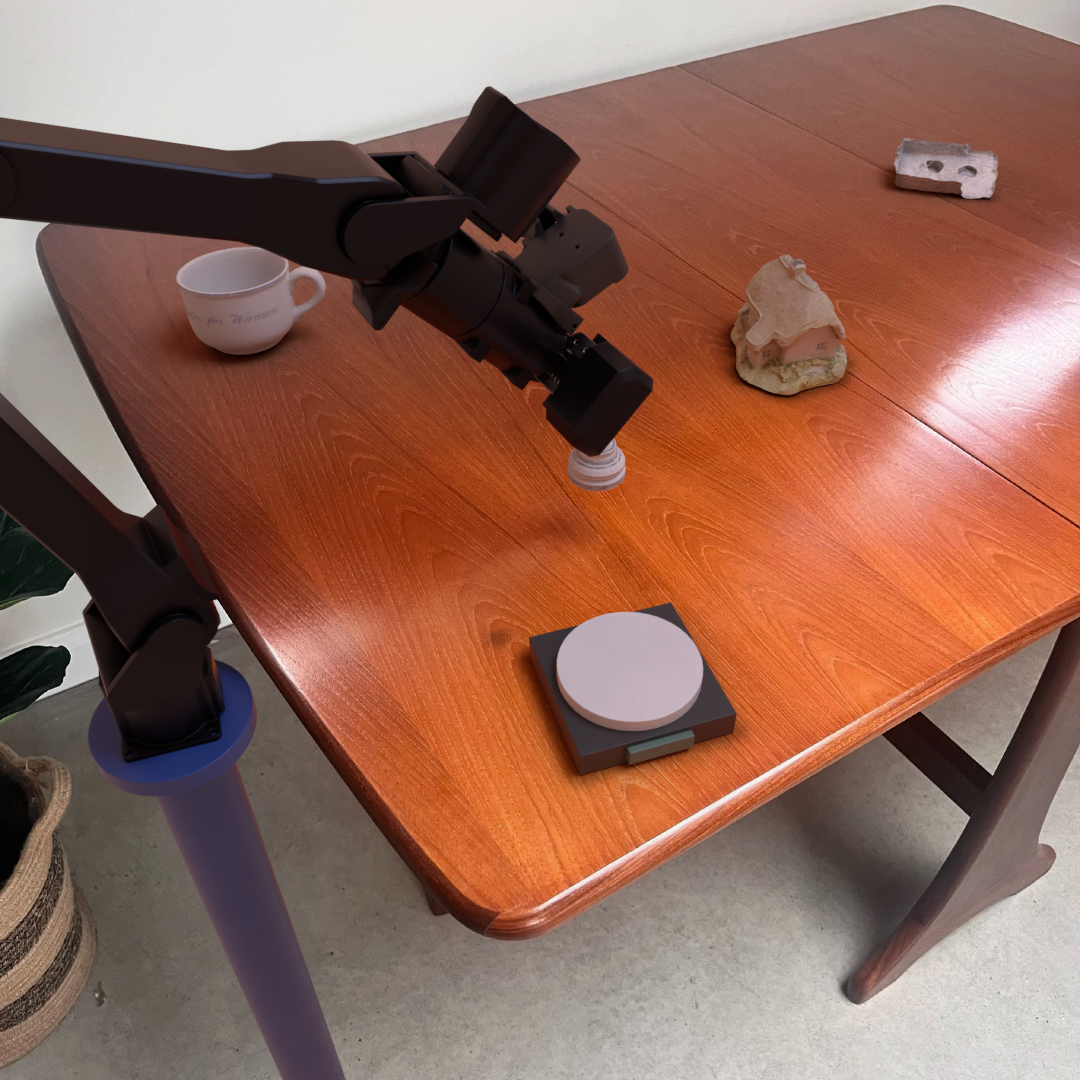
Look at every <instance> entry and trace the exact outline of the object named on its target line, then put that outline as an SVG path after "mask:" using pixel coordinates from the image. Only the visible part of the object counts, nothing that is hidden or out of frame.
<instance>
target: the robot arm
mask: <svg viewBox="0 0 1080 1080" xmlns="http://www.w3.org/2000/svg"><path fill="white" fill-rule="evenodd" d="M581 160H582V159H581V157H580V156H579V154H577V152H576V151H575V150H574V149H573V148H572V147H571V146H570V145H569V144H568V143H567V142H566V141H565V140H564V139H562V138H561V136H559V135H558V134H556V133H555V132H553V131H552V130H550V129H549V128H547V127H546V126H544V125H542V123H540V122H538V121H537V120H535V119H534V118H532V117H531V116H530V115H528V114H527V113H526V112H525V111H524V110H522V109H521V108H520V107H519V106H517V105H516V104H515V103H514V102H513V101H512V100H511V99H509V97H508V96H507V95H505V94H504V93H502V92H501V91H499V90H498V89H496V88H495V87H493V86H491V85H489V86H488V85H487V86H485V88H484V89H483V91H482V92H481V93H480V94H479V96H478V97H477V99H476V100H475V102H474V103H473V105H472V107H471V110H470V112H469V114H468V116H467V118H466V120H465V121H464V123H463V124H462V126H461V127H460V128H459V129H458V130H457V133H456V134H455V135H454V137H453V138H452V139H451V140H450V141H449V143H448V145H447V146H446V147H445V149H444V150H443V152H442V153H441V155H440V156H439V158H438V159H437V160H436V162H435V163H434V164H433V163H431V162H430V161H428V159H426V158H425V157H424V156H423V155H421V153H419V152H418V151H416V150H409V151H408V150H405V151H404V150H403V151H384V152H365V151H364V150H363V149H361V148H360V147H359V146H357V145H355V144H353V143H350V142H347V141H344V140H336V139H335V140H334V139H331V140H330V139H329V140H327V139H326V140H293V141H291V140H290V141H279V142H276V143H272V144H268V145H263V146H260V147H256V148H253V149H234V150H233V149H232V150H229V149H219V148H213V147H206V146H200V145H193V144H187V143H179V142H173V141H166V140H159V139H153V138H152V139H151V138H145V137H138V136H132V135H124V134H118V133H113V132H112V133H111V132H104V131H98V130H90V129H83V128H77V127H70V126H62V125H56V124H49V123H44V122H43V123H42V122H35V121H29V120H22V119H16V118H9V117H2V116H0V219H5V220H14V221H24V222H25V221H26V222H35V223H46V224H55V225H64V226H74V227H75V226H76V227H83V228H84V227H85V228H86V227H87V228H96V229H107V230H117V231H125V232H135V233H146V234H157V235H167V236H178V237H187V238H196V239H197V238H198V239H206V240H207V239H208V240H216V241H217V240H218V241H227V242H237V243H242V244H244V245H249V246H251V247H259V248H262V249H264V250H266V251H269V252H271V253H273V254H276V255H278V256H280V257H283V258H285V259H287V260H288V262H289V261H290V262H291V263H294V264H296V265H299V266H300V267H307V268H311V269H314V270H317V271H318V272H322V273H326V274H329V275H333V276H337V277H341V278H345V279H348V280H350V282H351V284H352V301H351V302H352V305H353V306H354V308H355V309H356V310H357V311H358V313H360V315H361V316H362V317H363V318H364V319H365V321H366V322H367V323H368V324H369V326H370V328H372V329H373V330H374V331H378V332H379V331H382V330H383V329H384V328H385V327H386V325H387V324H389V321H390V320H391V319H392V318H393V316H394V314H395V313H396V312H397V310H398V309H399V308H400V306H401V307H402V308H404V309H405V310H407V311H409V312H410V313H411V314H413V315H415V316H416V317H418V318H419V319H421V320H423V321H424V322H426V323H428V325H430V326H431V327H433V328H435V329H437V330H438V331H439V332H441V333H442V334H444V335H445V336H447V337H449V338H450V339H452V340H453V341H454V342H455V343H456V344H457V345H458V346H459V347H460V348H461V350H463V351H464V353H466V355H467V356H468V357H469V358H471V359H472V360H474V361H476V362H477V363H479V364H481V363H482V362H483V360H484V361H486V362H487V363H488V364H490V365H491V366H493V367H495V368H496V369H497V370H499V372H500V373H501V374H502V375H503V376H504V377H505V378H506V379H507V380H508V381H509V382H510V383H511V384H512V385H513V386H515V387H516V388H518V389H519V390H521V391H524V389H525V388H526V387H527V386H528V384H529V383H530V382H534V383H538V384H541V385H542V386H543V387H545V389H546V390H548V392H549V394H548V396H547V397H546V398H545V399H544V400H543V401H542V403H541V405H542V406H543V407H544V408H545V419H546V421H547V422H548V423H549V425H551V426H552V427H553V428H554V429H555V430H556V431H557V432H558V433H559V434H560V435H561V437H562V438H563V439H564V440H565V441H566V442H567V443H568V444H570V446H571V447H573V449H574V448H576V449H577V450H579V451H581V452H582V453H584V454H585V455H587V456H589V457H593V456H598V455H600V454H601V453H602V452H603V451H604V450H605V448H606V447H607V446H608V445H609V443H610V442H611V441H612V440H613V438H614V439H615V437H616V436H617V435H618V434H619V433H620V432H621V430H622V429H623V428H624V426H625V425H626V424H627V422H629V420H630V419H631V418H632V417H633V415H634V414H635V413H636V411H638V409H639V408H640V407H641V406H642V404H644V402H645V401H646V400H647V398H648V397H649V396H650V395H651V394H652V392H653V391H654V377H652V376H651V375H649V374H648V373H647V372H646V371H645V370H644V369H643V368H642V367H640V366H639V365H638V364H637V363H636V362H634V361H633V360H632V359H631V358H630V357H628V356H627V355H626V354H625V353H624V352H623V351H621V350H620V349H619V348H618V347H616V346H615V345H614V344H612V343H611V342H610V341H609V340H608V339H607V338H605V337H604V335H602V334H601V333H600V332H598V333H596V335H594V336H593V339H591V337H589V336H588V335H587V334H585V333H584V332H582V331H577V330H578V329H579V327H580V325H581V324H582V323H583V322H584V320H585V319H584V317H582V316H581V315H580V314H579V313H578V312H577V311H576V310H574V309H577V308H580V307H582V306H584V305H586V304H587V303H589V302H590V301H591V300H593V299H594V298H595V297H596V296H598V295H600V294H601V293H602V292H604V290H606V289H607V288H609V287H610V286H612V285H613V284H618V283H620V282H621V281H622V280H624V278H626V276H627V275H628V273H629V271H630V267H629V264H628V262H627V259H626V257H625V255H624V252H623V250H622V248H621V245H620V243H619V241H618V238H617V235H616V233H615V231H614V229H613V227H611V226H610V225H609V224H607V223H606V222H605V221H603V220H602V219H601V218H599V217H598V216H596V215H595V214H594V213H592V212H591V211H590V210H588V209H586V208H576V207H574V206H573V205H572V204H568V206H566V207H565V211H566V213H565V212H562V211H560V210H559V209H558V208H556V207H555V206H553V205H552V204H551V203H550V202H551V201H552V200H553V198H554V197H555V195H556V194H557V192H559V190H560V189H561V187H562V186H563V185H564V184H565V182H566V181H567V179H568V178H569V177H570V176H571V174H572V173H573V172H574V170H575V169H576V167H577V166H578V164H580V162H581ZM466 220H468V221H469V222H470V223H472V224H473V225H474V226H475V227H476V228H478V229H480V230H481V231H482V232H483V233H484V234H486V236H488V237H489V238H491V239H492V240H493V241H494V242H496V243H498V242H499V241H500V240H501V238H502V237H503V236H505V238H507V239H509V240H510V242H512V243H514V244H517V243H518V242H519V240H520V239H521V238H522V240H521V244H522V249H521V252H520V253H519V254H518V255H516V257H513V256H512V255H510V254H509V253H508V252H507V251H505V250H504V249H503V250H500V249H498V250H497V251H494V250H493V249H489V248H487V247H486V246H485V245H483V244H482V243H481V242H479V241H478V240H477V239H476V238H474V237H473V236H472V235H471V234H469V233H468V232H467V231H465V230H464V229H463V228H462V226H463V224H464V223H465V222H466ZM576 331H577V332H576ZM0 509H1V510H2V511H3V512H4V513H5V514H6V515H8V516H9V517H10V518H11V519H12V520H13V521H14V522H15V523H17V524H18V525H19V526H20V527H21V528H22V529H23V530H25V531H26V532H27V533H28V534H30V536H32V537H33V538H34V539H35V540H36V541H37V542H39V544H41V545H42V546H43V547H44V548H45V549H46V550H48V551H49V552H50V553H51V554H52V555H54V556H55V557H56V558H57V559H58V560H59V561H60V562H62V563H63V564H64V565H65V566H66V567H67V568H69V569H70V570H71V571H72V572H73V573H74V574H75V575H76V576H77V577H78V578H79V580H80V581H81V583H82V584H83V585H84V588H85V589H86V591H87V593H88V594H89V596H90V598H91V599H90V600H89V602H88V603H87V604H86V606H85V607H84V608H83V610H82V613H81V614H82V617H83V622H84V624H85V628H86V631H87V635H88V638H89V641H90V644H91V648H92V651H93V654H94V658H95V661H96V664H97V667H98V686H99V689H100V692H101V693H102V695H103V698H105V700H106V702H107V704H108V706H109V709H110V711H111V713H112V715H113V717H114V720H115V722H116V724H117V726H118V728H119V731H120V733H121V743H122V757H123V759H124V761H125V762H127V763H132V762H136V761H139V760H143V759H147V758H151V757H155V756H159V755H163V754H167V753H171V752H175V751H179V750H183V749H187V748H191V747H195V746H199V745H203V744H207V743H211V742H215V741H218V740H219V739H220V738H221V737H222V727H221V718H220V713H223V712H224V710H225V702H224V694H223V686H222V682H221V679H220V676H219V673H218V670H217V667H216V664H215V661H214V659H215V658H214V655H213V652H212V649H211V648H210V647H209V645H210V644H211V642H212V641H213V639H215V636H216V635H217V633H218V629H219V626H221V624H222V620H221V616H220V612H219V611H218V608H217V606H216V603H215V601H217V600H219V599H220V594H219V592H218V590H217V588H216V585H215V583H214V581H213V578H212V576H211V575H210V574H211V573H210V572H209V569H208V567H207V566H206V563H205V561H204V558H203V556H202V554H201V551H200V549H199V547H198V545H197V542H196V541H195V538H194V536H193V535H192V534H189V533H187V532H185V531H182V530H181V529H180V528H178V527H177V526H175V524H173V522H172V520H171V519H170V517H169V516H168V515H167V512H166V511H165V509H164V508H163V507H162V505H161V504H156V505H155V506H153V508H152V509H150V510H149V511H148V512H147V513H146V514H145V515H144V516H143V517H142V516H139V515H135V514H132V513H128V512H125V511H124V510H122V509H120V508H119V507H118V506H116V505H115V503H113V502H112V501H111V500H110V499H109V498H108V497H107V496H106V495H105V494H104V493H103V492H102V491H101V490H100V489H99V488H98V487H97V486H95V484H94V483H93V482H92V481H91V480H89V478H87V476H86V475H85V474H84V473H82V472H81V470H80V469H79V468H78V467H77V466H76V465H74V464H73V462H72V461H70V460H69V458H67V457H66V455H64V453H62V452H61V451H60V450H59V449H58V447H57V446H55V444H53V443H52V442H51V441H50V440H49V439H48V438H47V437H46V436H45V435H44V434H43V433H42V432H41V431H40V430H39V429H38V428H37V427H36V426H35V425H34V424H33V423H32V422H31V421H30V420H29V419H28V418H27V417H26V416H25V415H24V414H23V413H22V412H21V411H20V410H19V409H18V408H17V407H16V406H15V405H13V403H11V401H9V399H8V398H6V396H4V394H3V393H1V392H0ZM213 733H216V734H215V735H212V734H213ZM129 754H132V755H131V756H128V755H129Z"/></svg>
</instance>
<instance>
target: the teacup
mask: <svg viewBox="0 0 1080 1080" xmlns="http://www.w3.org/2000/svg"><path fill="white" fill-rule="evenodd" d="M301 279H306V280H307V279H308V280H309V281H311V282H312V283H313V284H314V286H315V292H314V294H313V296H312V297H310V298H309V299H308V300H307V301H305V302H303V303H301V304H298V305H296V303H295V295H294V293H295V292H296V287H297V286H296V285H297V283H298V281H299V280H301ZM175 282H176V285H177V286H178V287H179V290H180V295H181V299H182V302H183V305H184V309H185V312H186V316H187V319H188V321H189V324H190V327H191V329H192V331H193V333H194V334H195V336H196V337H197V338H198V339H199V340H200V341H201V342H203V344H204V345H207V346H209V347H211V348H214V349H216V350H218V351H220V352H222V353H224V354H228V355H229V354H230V355H252V354H258V353H260V352H263V351H267V350H269V349H271V348H272V347H273V348H274V346H276V345H277V344H279V342H280V341H282V339H283V338H284V337H285V336H286V335H287V333H288V332H289V331H290V330H291V328H292V327H293V325H295V324H298V323H300V322H301V321H302V320H303V317H304V316H305V315H306V314H308V313H310V312H311V311H313V310H314V309H316V308H317V307H318V306H319V305H320V304H321V303H322V301H323V300H324V298H325V295H326V292H327V291H326V290H327V284H326V281H325V278H324V277H323V275H322V274H321V272H320V271H318V270H314V269H311V268H307V267H304V266H299V267H296V268H294V269H293V270H292V271H290V263H289V260H287V259H285V258H283V257H280V256H278V255H276V254H273V253H271V252H269V251H266V250H264V249H262V248H259V247H255V246H241V247H230V248H225V249H219V250H214V251H211V252H208V253H205V254H202V255H200V256H197V257H195V258H193V259H191V260H190V261H188V262H187V263H185V264H184V265H183V266H182V267H181V268H179V269H178V270H177V273H176V276H175Z"/></svg>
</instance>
